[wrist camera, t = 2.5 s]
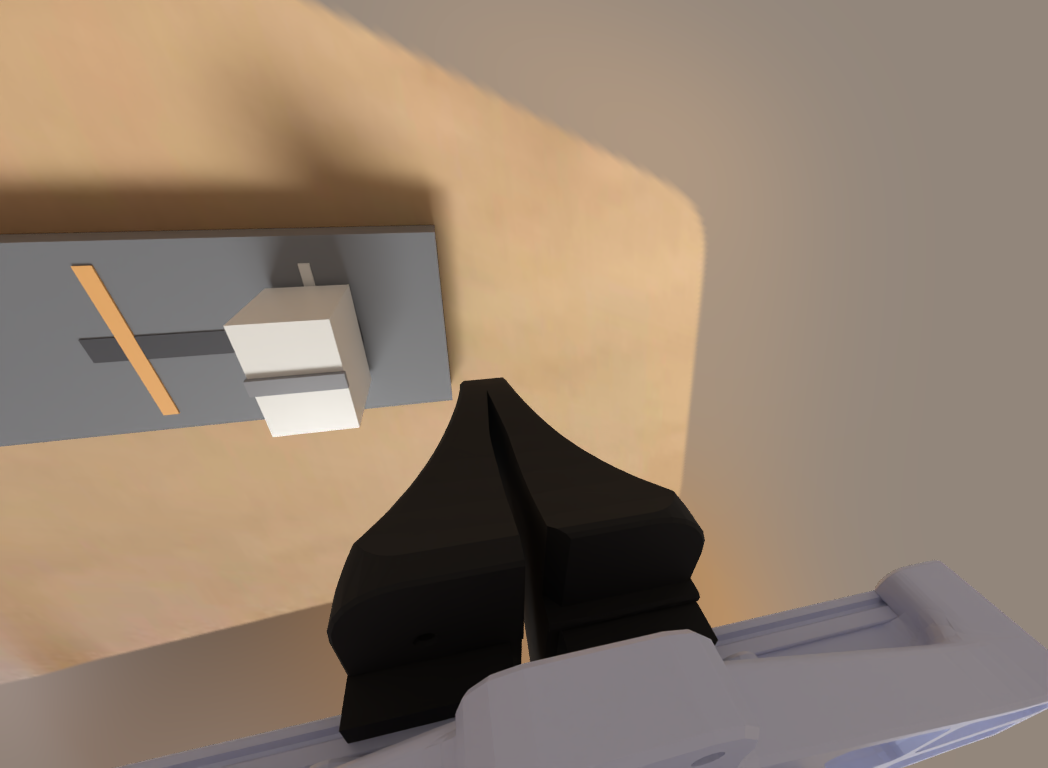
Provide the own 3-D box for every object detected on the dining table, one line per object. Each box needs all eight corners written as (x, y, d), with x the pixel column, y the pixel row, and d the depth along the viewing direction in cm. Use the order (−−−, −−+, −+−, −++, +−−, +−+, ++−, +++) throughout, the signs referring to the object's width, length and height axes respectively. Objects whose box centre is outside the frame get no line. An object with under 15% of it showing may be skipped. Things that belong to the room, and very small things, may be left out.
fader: (298, 385, 17) (269, 440, 14) (263, 288, 14) (218, 328, 11) (372, 379, 17) (360, 430, 14) (350, 284, 15) (329, 321, 12)
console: (20, 425, 17) (-13, 449, 16) (-148, 237, 13) (-214, 248, 11) (451, 384, 20) (452, 400, 19) (434, 225, 16) (434, 232, 15)
